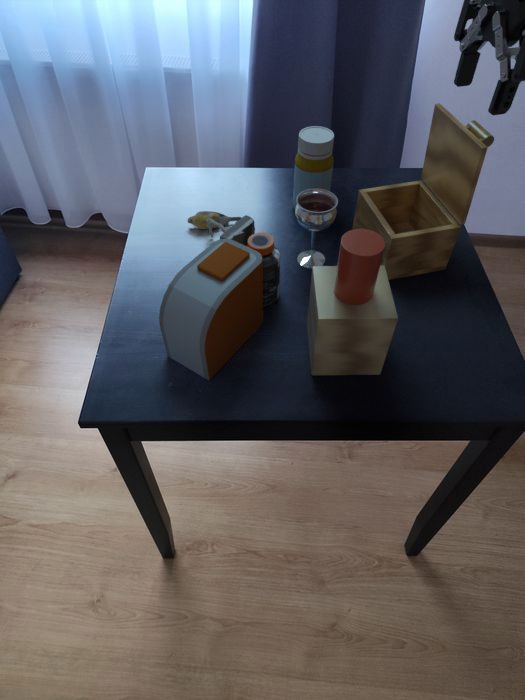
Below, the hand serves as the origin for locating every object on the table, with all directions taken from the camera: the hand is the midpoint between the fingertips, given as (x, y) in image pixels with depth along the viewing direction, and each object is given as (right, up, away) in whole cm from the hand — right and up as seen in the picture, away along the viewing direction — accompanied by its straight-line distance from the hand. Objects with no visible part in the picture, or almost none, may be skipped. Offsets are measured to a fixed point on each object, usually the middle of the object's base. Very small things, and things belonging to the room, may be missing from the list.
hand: (478, 98), depth 59 cm
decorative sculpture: (-33, -11, +29) cm, 46 cm away
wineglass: (-18, -15, +26) cm, 35 cm away
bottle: (-17, -3, +35) cm, 40 cm away
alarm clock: (-34, -29, +15) cm, 47 cm away
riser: (-15, -31, +13) cm, 37 cm away
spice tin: (-15, -23, +3) cm, 28 cm away
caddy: (-3, -13, +27) cm, 30 cm away
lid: (+2, -2, +16) cm, 16 cm away
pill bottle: (-27, -22, +20) cm, 40 cm away
